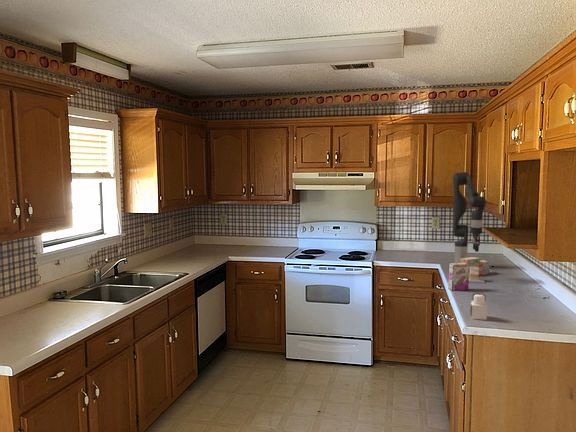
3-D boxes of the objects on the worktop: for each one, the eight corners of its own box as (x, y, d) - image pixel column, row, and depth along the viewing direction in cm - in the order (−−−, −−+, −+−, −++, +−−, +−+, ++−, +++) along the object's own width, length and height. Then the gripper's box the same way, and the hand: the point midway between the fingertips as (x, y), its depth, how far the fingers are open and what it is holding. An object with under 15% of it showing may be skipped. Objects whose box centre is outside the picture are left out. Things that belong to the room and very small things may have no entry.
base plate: (463, 278, 328) (463, 276, 327) (481, 279, 325) (481, 277, 325) (465, 282, 316) (465, 280, 316) (484, 283, 313) (485, 281, 313)
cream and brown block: (469, 278, 323) (469, 266, 323) (477, 278, 322) (477, 266, 322) (470, 279, 319) (470, 268, 318) (478, 280, 317) (478, 268, 317)
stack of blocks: (482, 272, 348) (483, 255, 346) (489, 274, 342) (489, 257, 341) (459, 275, 339) (460, 258, 338) (466, 276, 333) (466, 259, 332)
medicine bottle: (470, 314, 245) (471, 291, 243) (485, 316, 243) (486, 292, 241) (471, 319, 238) (472, 295, 237) (486, 320, 236) (487, 296, 235)
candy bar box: (452, 291, 294) (452, 264, 292) (448, 289, 299) (448, 263, 297) (468, 290, 296) (469, 264, 294) (464, 288, 300) (465, 262, 299)
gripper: (468, 225, 325) (468, 248, 327) (472, 227, 311) (471, 252, 313) (480, 225, 324) (479, 248, 325) (484, 227, 310) (483, 252, 311)
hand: (475, 250), depth 319 cm, fingers open, 8 cm apart
